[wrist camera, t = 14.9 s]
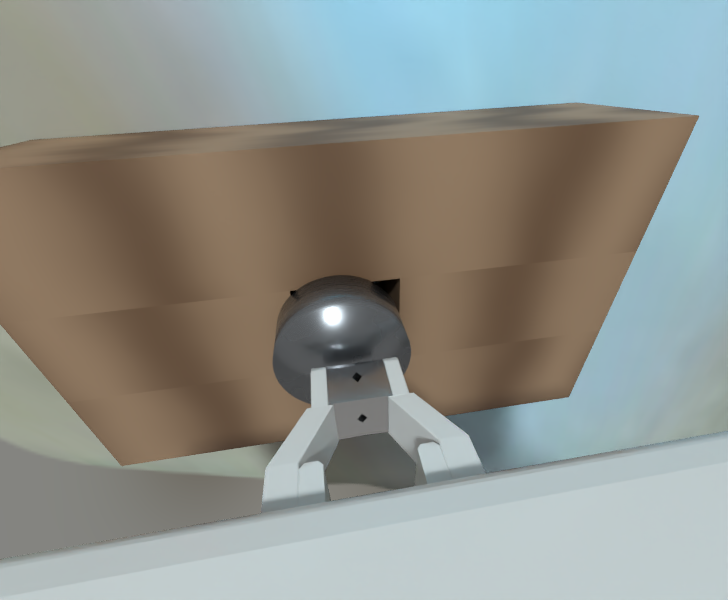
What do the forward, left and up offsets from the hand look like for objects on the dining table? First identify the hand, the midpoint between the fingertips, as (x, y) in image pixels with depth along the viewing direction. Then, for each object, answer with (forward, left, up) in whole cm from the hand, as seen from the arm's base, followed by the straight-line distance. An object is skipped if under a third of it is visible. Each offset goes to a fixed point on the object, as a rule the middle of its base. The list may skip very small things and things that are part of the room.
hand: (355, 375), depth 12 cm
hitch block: (0, 0, -9) cm, 9 cm away
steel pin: (0, 0, -8) cm, 8 cm away
